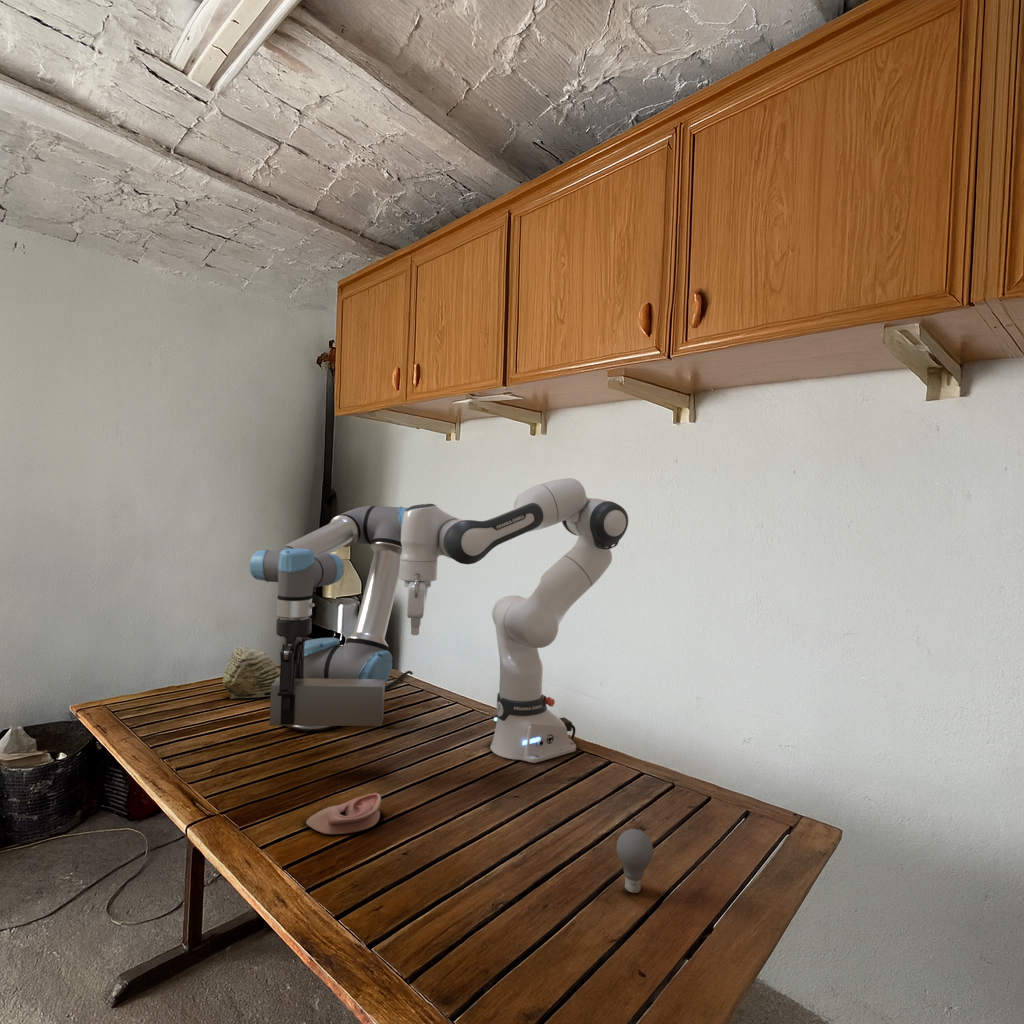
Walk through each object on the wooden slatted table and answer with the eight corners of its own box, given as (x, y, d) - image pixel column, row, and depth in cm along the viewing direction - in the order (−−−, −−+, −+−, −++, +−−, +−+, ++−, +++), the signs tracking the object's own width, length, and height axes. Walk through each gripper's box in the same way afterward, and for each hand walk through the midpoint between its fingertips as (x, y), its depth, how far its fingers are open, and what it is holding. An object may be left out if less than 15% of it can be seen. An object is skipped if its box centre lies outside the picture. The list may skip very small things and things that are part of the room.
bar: (269, 725, 140) (270, 685, 140) (276, 716, 146) (277, 677, 146) (381, 726, 143) (382, 686, 143) (383, 717, 149) (385, 679, 148)
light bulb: (610, 879, 108) (613, 822, 108) (644, 879, 109) (647, 822, 109) (619, 902, 102) (622, 840, 102) (655, 901, 103) (658, 840, 103)
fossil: (218, 695, 195) (220, 647, 195) (278, 685, 208) (279, 640, 207) (228, 703, 189) (230, 653, 188) (289, 692, 201) (290, 645, 201)
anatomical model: (298, 809, 120) (327, 783, 131) (297, 830, 120) (327, 802, 131) (363, 819, 117) (388, 791, 128) (362, 840, 117) (387, 811, 128)
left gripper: (302, 626, 134) (298, 734, 135) (319, 610, 153) (315, 705, 153) (265, 625, 133) (261, 734, 134) (287, 609, 152) (283, 705, 152)
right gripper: (430, 578, 140) (428, 640, 140) (432, 567, 160) (430, 622, 160) (402, 577, 139) (399, 639, 139) (407, 567, 159) (404, 621, 160)
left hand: (290, 718), depth 144 cm, fingers closed on bar, 6 cm apart
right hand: (415, 630), depth 150 cm, fingers open, 8 cm apart
